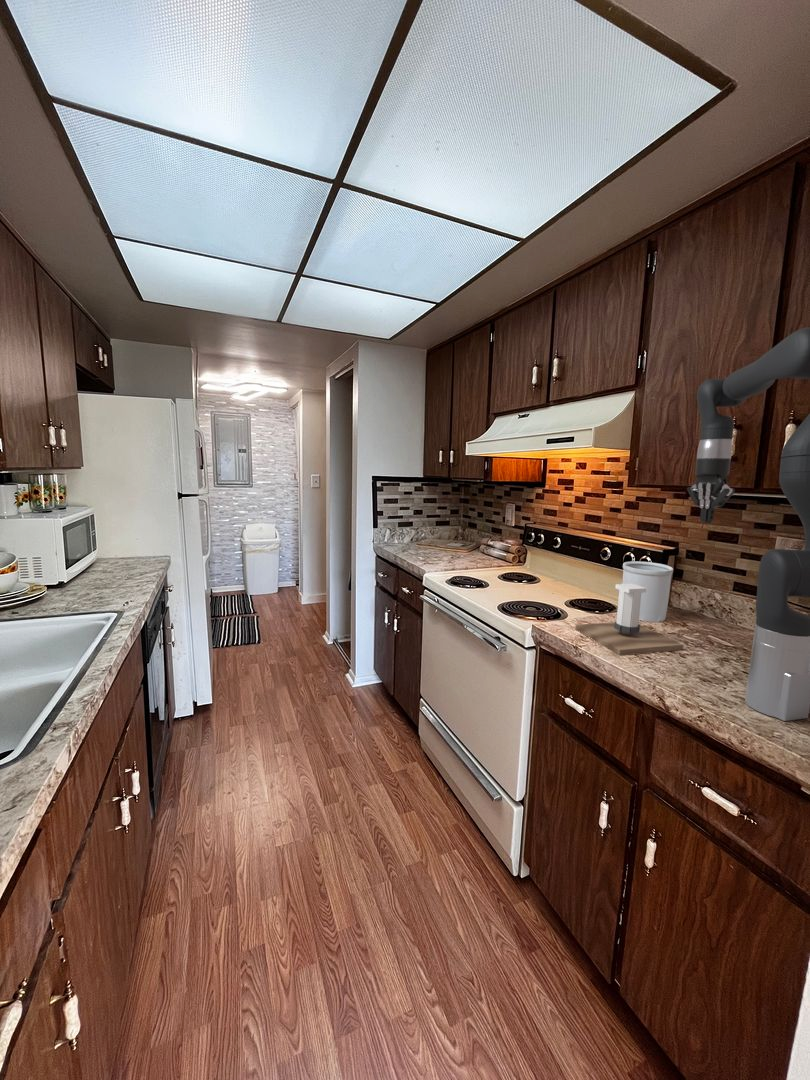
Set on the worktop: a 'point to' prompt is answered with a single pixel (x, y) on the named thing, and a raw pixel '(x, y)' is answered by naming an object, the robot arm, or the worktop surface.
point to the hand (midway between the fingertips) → (706, 522)
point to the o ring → (627, 628)
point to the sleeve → (629, 604)
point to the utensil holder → (650, 587)
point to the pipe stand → (628, 639)
